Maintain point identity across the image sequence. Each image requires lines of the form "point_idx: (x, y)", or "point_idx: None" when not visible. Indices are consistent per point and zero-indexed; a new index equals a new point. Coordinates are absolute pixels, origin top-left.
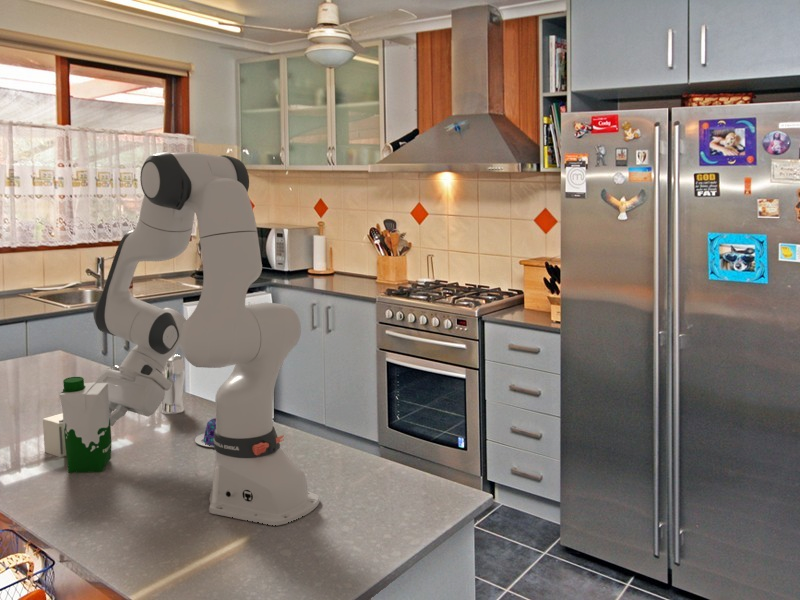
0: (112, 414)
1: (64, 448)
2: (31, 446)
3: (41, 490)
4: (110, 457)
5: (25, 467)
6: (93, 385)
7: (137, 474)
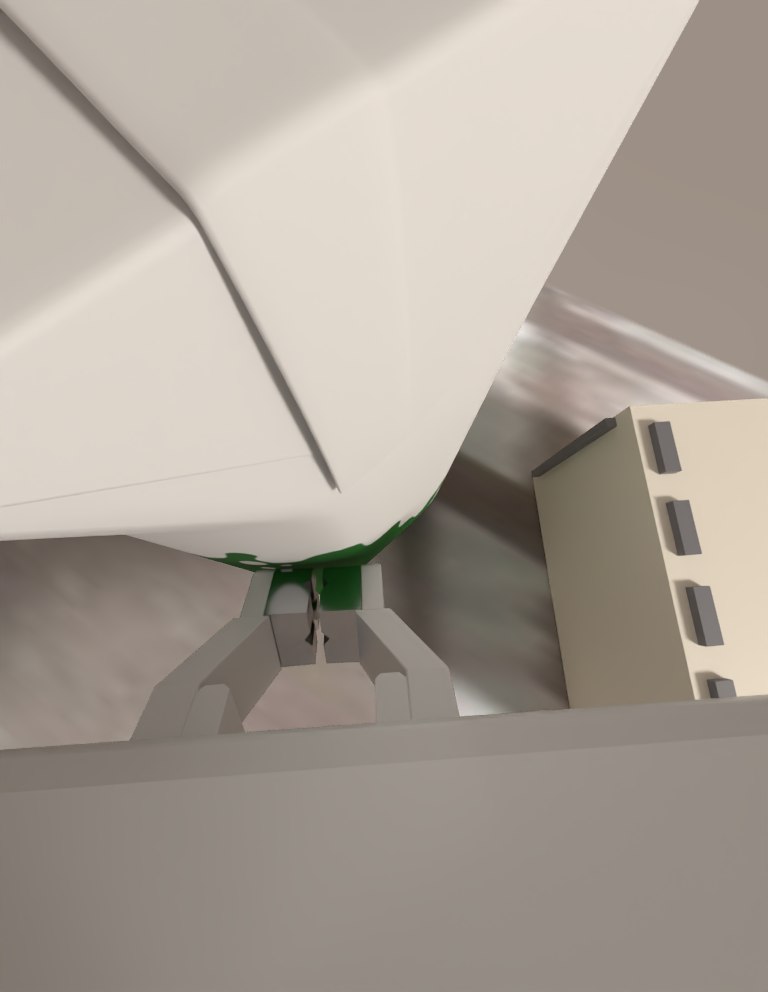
0: (238, 627)
1: (550, 486)
2: None
3: None
4: None
5: (528, 337)
6: (27, 38)
7: (71, 570)
